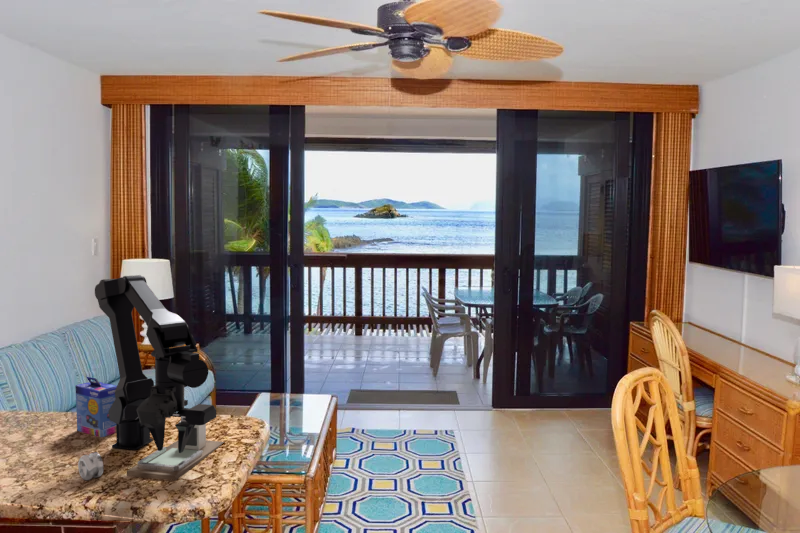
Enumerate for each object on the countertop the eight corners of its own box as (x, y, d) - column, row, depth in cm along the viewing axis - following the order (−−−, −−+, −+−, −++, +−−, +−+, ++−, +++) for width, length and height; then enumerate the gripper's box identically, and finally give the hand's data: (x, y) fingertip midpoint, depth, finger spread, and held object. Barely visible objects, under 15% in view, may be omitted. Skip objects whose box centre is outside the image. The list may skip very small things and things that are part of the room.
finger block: (177, 448, 135) (177, 422, 135) (186, 443, 139) (185, 418, 138) (198, 450, 134) (197, 424, 134) (205, 445, 137) (205, 419, 137)
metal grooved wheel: (103, 479, 121) (103, 455, 121) (88, 484, 119) (87, 459, 119) (92, 473, 124) (91, 449, 124) (77, 477, 122) (76, 453, 122)
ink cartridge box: (75, 433, 148) (73, 375, 147) (95, 427, 153) (94, 371, 152) (100, 440, 143) (99, 381, 142) (121, 434, 148) (120, 376, 147)
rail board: (126, 476, 123) (126, 470, 123) (181, 443, 142) (181, 437, 142) (175, 481, 120) (175, 475, 120) (224, 447, 140) (224, 441, 140)
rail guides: (135, 467, 124) (135, 463, 124) (163, 451, 134) (163, 446, 134) (177, 472, 122) (177, 467, 122) (202, 454, 132) (202, 450, 132)
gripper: (105, 386, 121) (106, 461, 122) (188, 392, 117) (189, 470, 118) (139, 373, 132) (140, 442, 133) (217, 378, 128) (217, 450, 129)
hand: (170, 451), depth 128 cm, fingers open, 4 cm apart
